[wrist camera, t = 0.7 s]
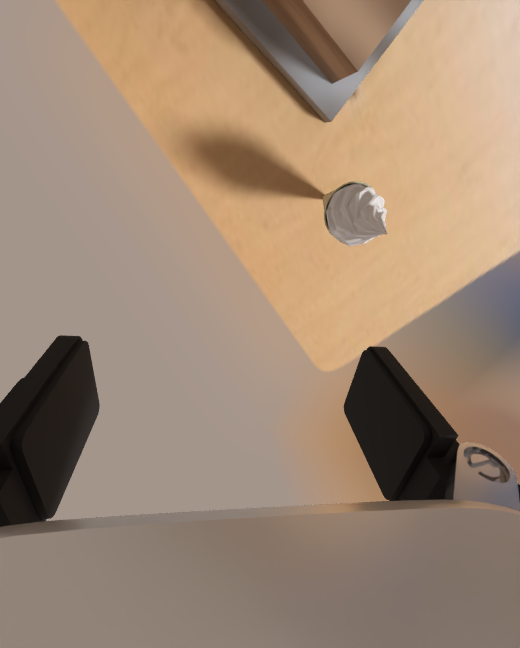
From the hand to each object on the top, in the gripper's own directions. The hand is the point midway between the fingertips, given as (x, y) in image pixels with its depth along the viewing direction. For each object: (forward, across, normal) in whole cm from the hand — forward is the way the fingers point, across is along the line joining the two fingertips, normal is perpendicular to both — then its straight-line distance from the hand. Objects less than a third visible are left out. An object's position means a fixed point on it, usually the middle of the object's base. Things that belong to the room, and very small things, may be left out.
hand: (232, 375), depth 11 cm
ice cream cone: (+28, -11, -3) cm, 30 cm away
